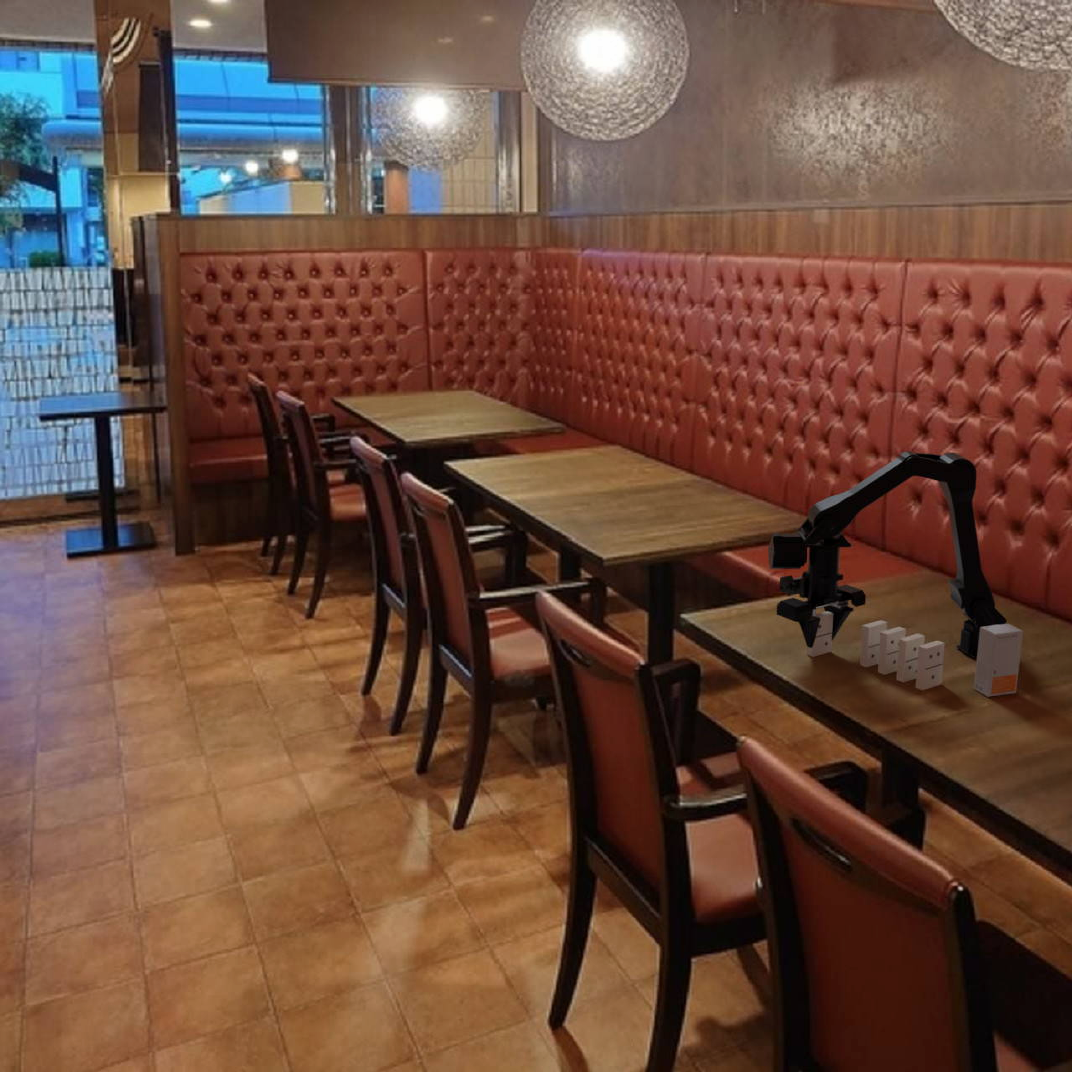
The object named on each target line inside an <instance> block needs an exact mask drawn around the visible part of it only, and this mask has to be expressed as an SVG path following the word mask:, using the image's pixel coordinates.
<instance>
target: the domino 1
mask: <svg viewBox="0 0 1072 1072" xmlns="http://www.w3.org/2000/svg"><path fill="white" fill-rule="evenodd" d="M816 617H819V618H821V619H820V623H819V627H818V630H817V634H816V638H815V641H814V644H813V647H812V648H810V647H808V646H807V645H806V655H807V656H810V657H812V658H815V657H817V656H820V655H824V654H828V653H832V646H833V645H832V644H833V641H832V628H833V613H831V612H828V611H826V612H825V611H823V612H819V613H816Z"/></svg>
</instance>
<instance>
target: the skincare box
mask: <svg viewBox="0 0 1072 1072" xmlns="http://www.w3.org/2000/svg"><path fill="white" fill-rule="evenodd" d="M1023 636H1024V630H1022V629H1020V628H1018V627H1016V626H1015V625H1012V624H1010V623H1005V624H1001V625H992V626H986V627H980V635H979V644H978V653H977V659H976V665H975V673H974V683H973V688H974V689H975V690H976V691H977V692H979V693H980V694H982V695H984V696H986V697H988V698H989V697H997V696H1003V695H1011V694H1016V693H1017V687H1018V677H1019V671H1020V670H1019V668H1020V663H1021V661H1020V660H1021V653H1022V645H1023Z"/></svg>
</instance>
